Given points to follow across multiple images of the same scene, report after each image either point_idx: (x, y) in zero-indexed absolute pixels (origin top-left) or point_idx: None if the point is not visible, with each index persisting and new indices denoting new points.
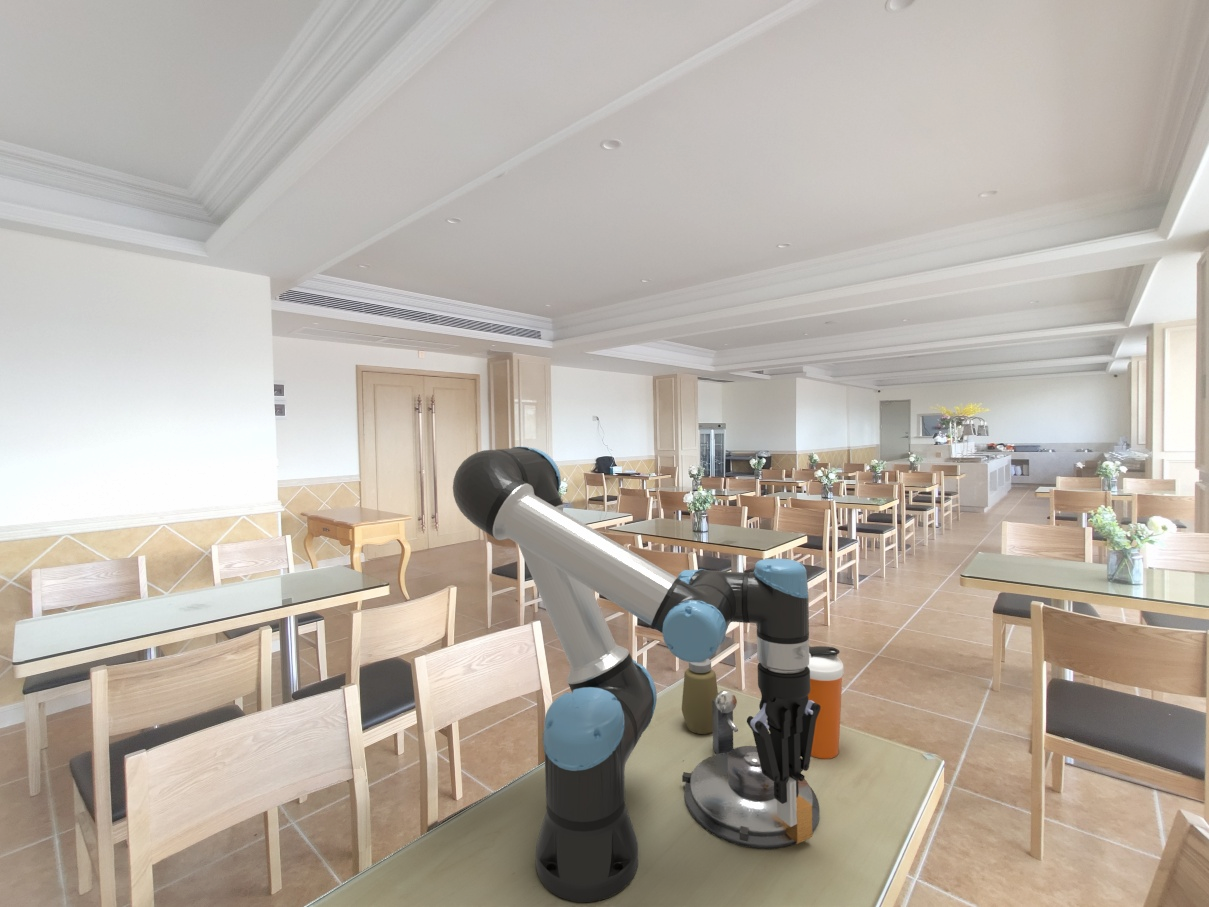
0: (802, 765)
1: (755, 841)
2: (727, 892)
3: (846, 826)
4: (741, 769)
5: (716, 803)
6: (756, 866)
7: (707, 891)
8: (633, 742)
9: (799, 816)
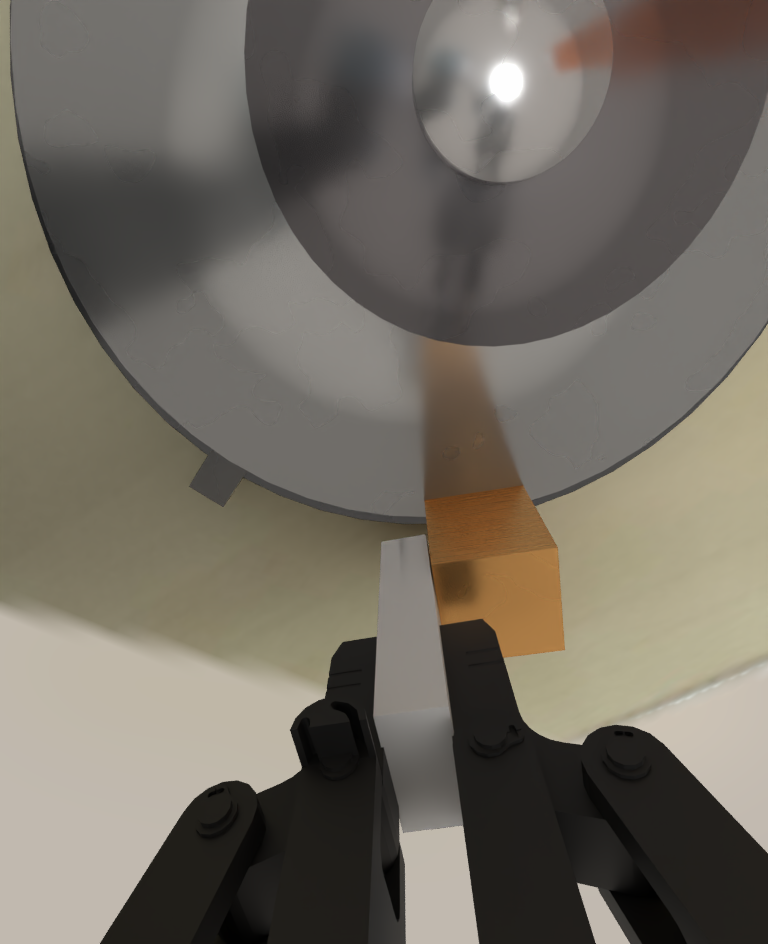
0: (601, 892)
1: (274, 489)
2: (92, 614)
3: (739, 489)
4: (317, 176)
5: (140, 247)
6: (240, 554)
7: (23, 592)
8: None
9: None
